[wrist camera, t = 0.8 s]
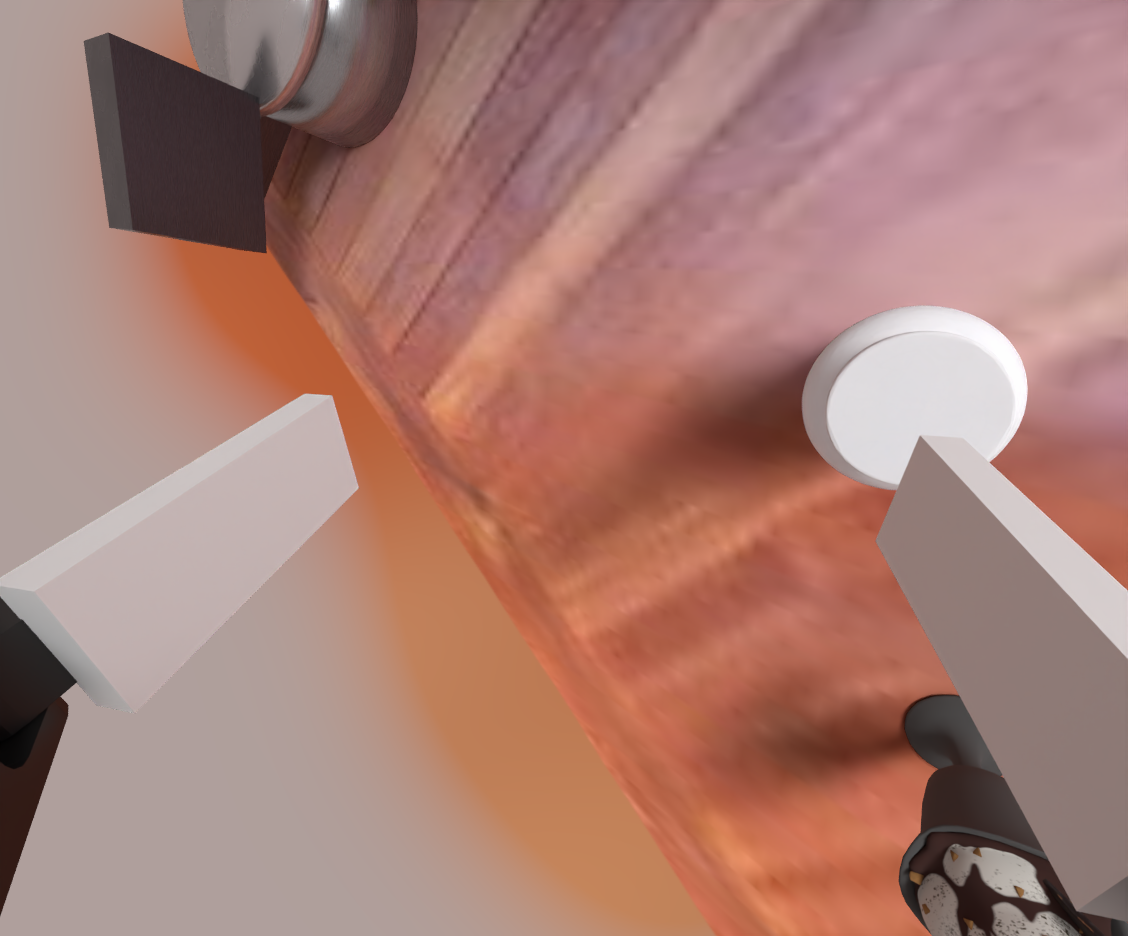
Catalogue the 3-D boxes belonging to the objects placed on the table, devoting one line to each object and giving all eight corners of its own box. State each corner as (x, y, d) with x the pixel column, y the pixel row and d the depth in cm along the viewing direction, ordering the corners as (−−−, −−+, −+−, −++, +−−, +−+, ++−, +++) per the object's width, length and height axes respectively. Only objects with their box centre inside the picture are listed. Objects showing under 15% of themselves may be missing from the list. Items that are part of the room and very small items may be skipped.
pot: (361, -177, 35) (260, -285, 29) (471, -42, 32) (385, -129, 26) (249, 151, 49) (165, 123, 43) (320, 263, 46) (242, 249, 40)
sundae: (880, 763, 29) (895, 1075, 16) (895, 664, 27) (925, 924, 15) (1027, 814, 26) (1188, 1254, 13) (1054, 705, 24) (1263, 1082, 12)
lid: (190, -134, 34) (-5, -276, 26) (327, -217, 27) (114, -445, 19) (218, 248, 42) (73, 223, 34) (331, 262, 35) (179, 235, 27)
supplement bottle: (815, 449, 27) (786, 509, 17) (817, 329, 26) (789, 311, 15) (966, 451, 24) (1053, 528, 13) (977, 312, 23) (1082, 274, 12)
